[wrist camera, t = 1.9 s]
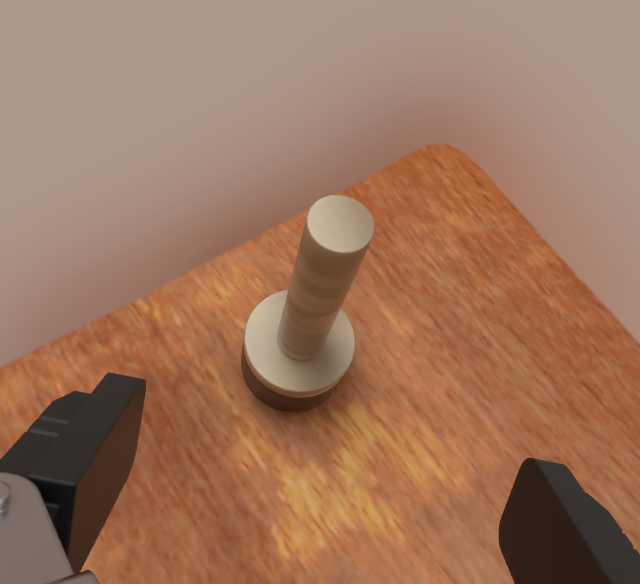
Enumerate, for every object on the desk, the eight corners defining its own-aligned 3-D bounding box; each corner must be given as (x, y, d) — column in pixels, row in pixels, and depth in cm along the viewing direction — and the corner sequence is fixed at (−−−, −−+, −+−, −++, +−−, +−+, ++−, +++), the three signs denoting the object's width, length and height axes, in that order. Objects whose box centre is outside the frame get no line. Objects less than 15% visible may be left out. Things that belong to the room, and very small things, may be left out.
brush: (260, 426, 31) (293, 314, 19) (228, 331, 33) (238, 175, 21) (356, 393, 33) (445, 271, 20) (320, 305, 35) (381, 146, 22)
